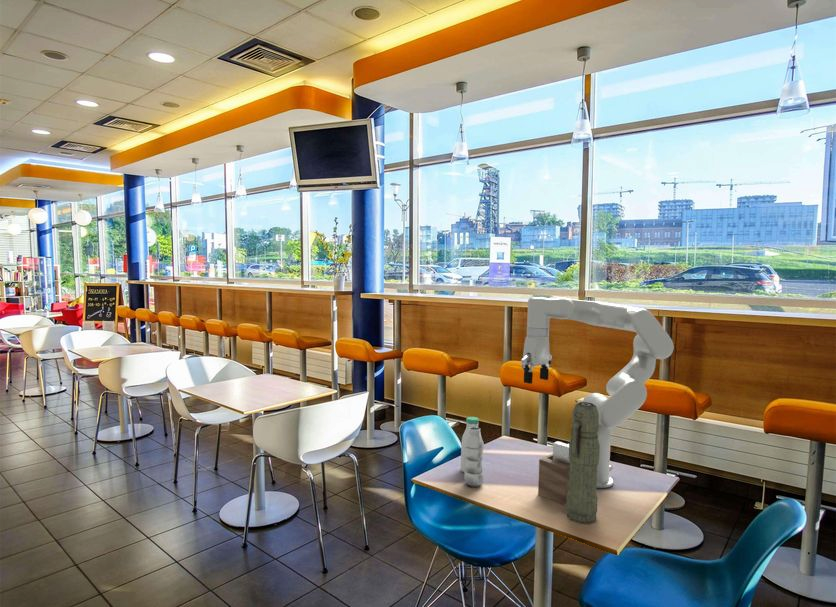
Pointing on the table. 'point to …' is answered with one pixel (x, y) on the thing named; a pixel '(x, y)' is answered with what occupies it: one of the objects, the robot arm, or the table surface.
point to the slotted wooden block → (553, 479)
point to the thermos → (583, 464)
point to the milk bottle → (470, 423)
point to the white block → (561, 452)
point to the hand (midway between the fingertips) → (536, 381)
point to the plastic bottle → (474, 458)
